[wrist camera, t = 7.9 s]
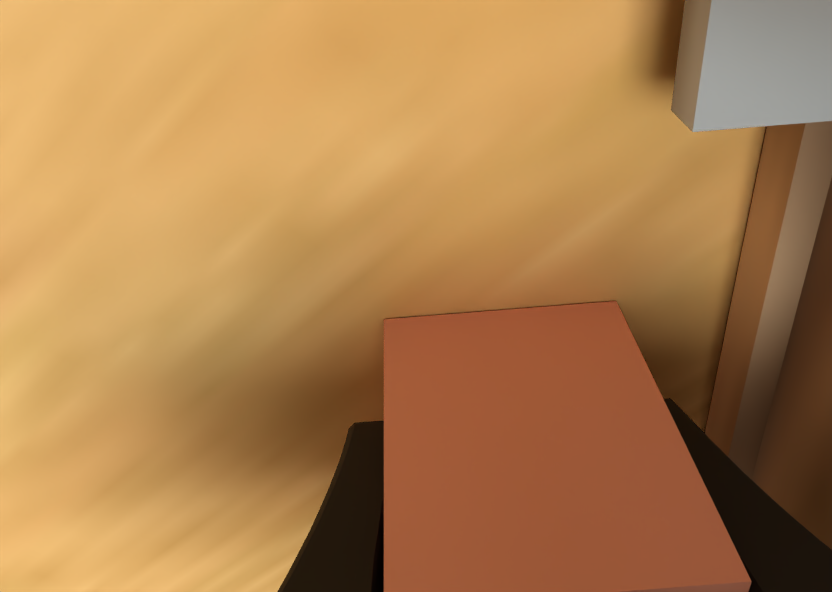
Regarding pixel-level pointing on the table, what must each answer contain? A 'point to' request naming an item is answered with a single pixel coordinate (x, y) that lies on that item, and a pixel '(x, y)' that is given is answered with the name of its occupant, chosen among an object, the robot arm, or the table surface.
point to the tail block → (539, 461)
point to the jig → (773, 240)
